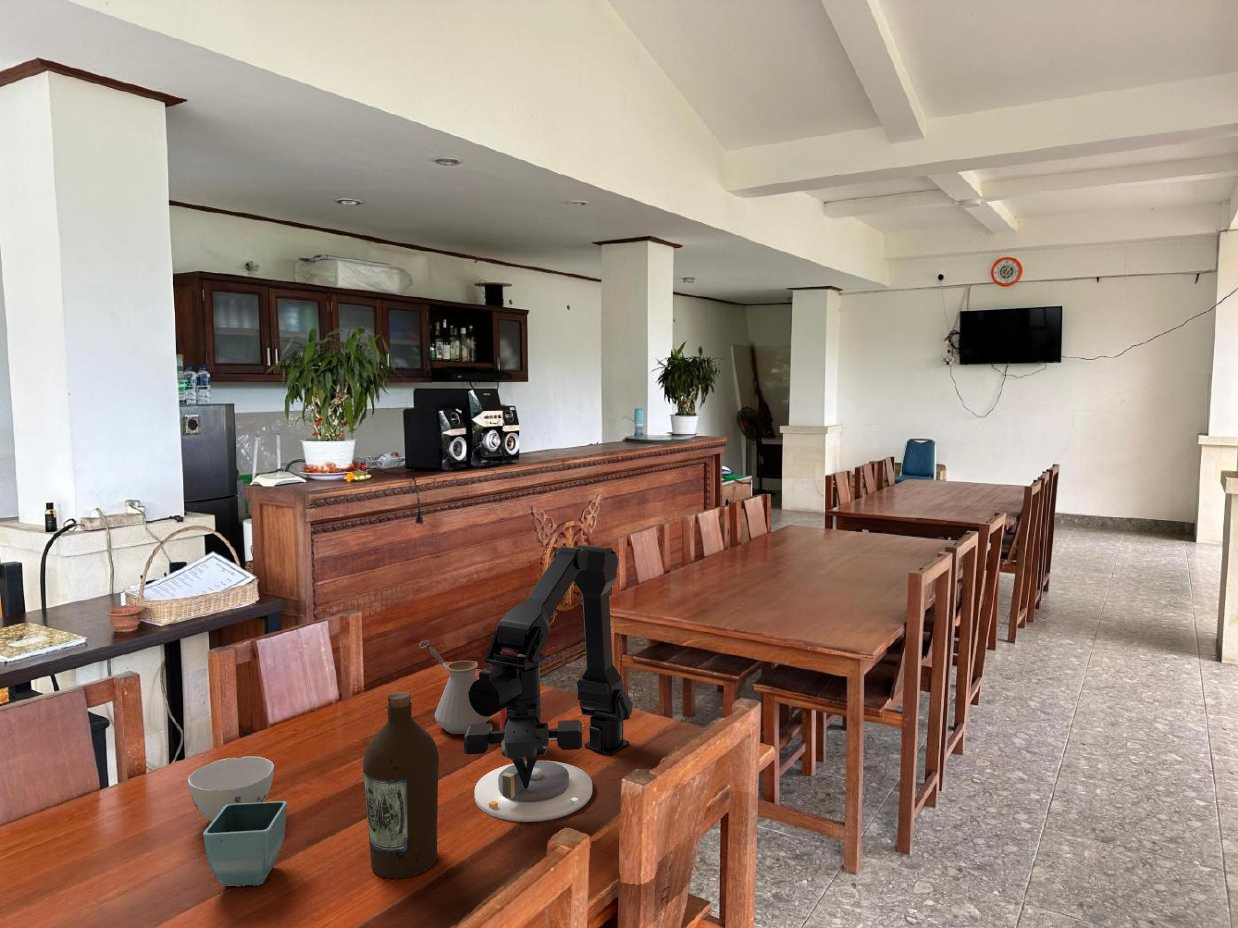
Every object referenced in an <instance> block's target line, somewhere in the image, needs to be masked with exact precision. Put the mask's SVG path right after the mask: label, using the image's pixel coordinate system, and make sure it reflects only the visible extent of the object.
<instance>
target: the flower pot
mask: <svg viewBox="0 0 1238 928" xmlns="http://www.w3.org/2000/svg"><path fill="white" fill-rule="evenodd" d="M287 808H288V802H287V801H286V800H277V801H264V802H256V803H235V804H227V805H225V806H224V807H223V809H222V810H221V811H220V813H219V814H218V815H217V816H216V818H215V819H214V820H213V821H212V822H211V823H209V825H208V826H207V827H206V828H205V830H204V831H203V833H202V836H203V842H204V847H205V850H206V856H207V860H208V861H207V862H208V864H209V868H210V870H211V873H212V874H213V875H214V877H215V878H216V880H217V881H219V883H220V884H221V885H223V886H224V887H225V886H236V887H239V886H238V885H243V886H242V887H246V886H245V885H250V886H251V885H253V886H261V885H262V884H263V883H264V882H266V881H265V880H267V877H268V876H269V874H270V872H271V871H272V869H273V867H274V865H275V863H276V861H277V860H278V857H279V854H280V851H281V849H282V846H283V843H284V838H285V834H286V833H285V832H286V824H287V823H286V822H287V821H286V820H287ZM260 884H261V885H260ZM251 887H252V886H251Z"/></svg>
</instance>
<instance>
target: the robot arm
mask: <svg viewBox="0 0 1238 928" xmlns="http://www.w3.org/2000/svg"><path fill="white" fill-rule="evenodd" d="M553 555H554V556H553V559H552V561H551V563H549V565H548V567H547V568H546V570H545V571H544V573H543V574H542V575H541V578H540V579H539V580H538V582H537V583H536V584H535V586H534V588H533V589H532V590H531V592H530V593H529V595H528V597H527V598H526V599H525V600H524V601H523V602H521V603H519V604H518V605H516V606H514V607H512V608H511V609H509V610H508V611H507V613H505V615H504V616H503V617H502V618H501V619H500V621H499V622H498V623H497V626H496V628H495V630H494V634H493V637H492V638H491V641H490V645H489V648H488V651H487V654H486V656H485V658H484V663H485V664H487V665H492V666H490V667H488V668H483V669H482V670H479V671H478V678H477V680H476V681H475V682H474V683H473V684H472V685H471V687H470V691H469V692H468V696H469V701H470V704H471V706H472V708H473V709H474V710H475V711H476V712H477V713H478V714H479V715H481V716H484V717H489V716H490V717H492V716H494V715H496V714H497V713H500V711H501V710H502V709H504V708H505V715H506V719H505V722H504V731H500V730H493V724H492V723H485V724H471V725H470V726H469V728H468V729H467V732H466V734H464V738H463V753H464V754H466V755H482V754H484V755H485V753H486V752H487V751H488V750H489V748H490V745H492V744H493V745H494V744H501V743H502V746H503V748H502V749H501V756H502V757H503V758H507V759H510V761H512V764H514V765H515V767H516V769H517V771H518V773H519V776H520V778H521V781H522V783H523V786H524V788H525V789H526V788H528V786H529V782H530V779H531V775H532V771H533V768H534V765H535V763H536V761H538V759H539V757H540V756H545V755H546V754H547V748H548V747H549V743H550V742H556V741H557V742H556V744H557V746H558V748H559V749H560V750H562V751H573V750H575V751H576V750H581V749H583V746H584V748H587V749H590V750H593V751H596V752H598V753H602V754H604V755H607V756H609V755H610V756H611V755H612V754H614V753H616V752H618V751H620V750H622V749H623V748H625V747H627V746H630V745H631V744H630V743H631V741H630V740H626V739H624V721H627V720H630V719H631V715H632V714H633V713H632V712H633V705H634V704H633V701H632V700H631V699H630V698H629V696H628V695H627V693H626V692H625V690H624V684H623V683H624V682H623V679H622V676H621V674H620V673H619V672H618V670H617V668H616V667H615V665H614V662H613V645H612V642H613V641H612V628H611V627H612V626H611V623H612V622H611V605H610V591H611V588H612V586H613V585H614V583H615V581H616V580H617V577H618V576H617V574H618V567H619V558H618V555H617V553H616V551H614V550H613V548H612V547H609V546H596V545H586V544H581V545H580V544H579V545H578V546H576V547H573V546H561V547H558V548H557V549H555V552H554V554H553ZM573 583H574V584H575V586H576V587H577V589H578V591H580V593H581V595H582V608H583V622H584V623H583V625H584V626H583V627H584V641H585V658H586V669H585V670H584V672H583V674H582V676H581V678H579V679H578V680H577V683H576V687H577V698H576V699H577V701H578V703H579V708H580V712H581V715H582V716H590V717H589V727H588V728H589V729H588V732H589V735H588V736H589V741H587V742H585V743H584V744H583V724H582V722H581V721H580V719H569V720H568V719H566V720H558V721H557V727H554V728H552V727H551V728H550V726H549V722H542V703H541V674H540V673H541V672H540V663H541V662H543V661H545V660H546V657H547V656H546V655H545V654H544V653H543V652H542V650H543V649H544V647H545V645H546V644H547V640H548V638H549V636H550V634H551V627H550V620H551V619H552V616H553V615H554V613H555V611H556V609H557V608H558V606H559V605H560V604H561V602H562V600H563V598H564V597H565V596H566V594H567V592H568V591H569V589H570V587H572V585H573ZM502 651H503V652H505V653H501V652H502ZM506 653H512V654H518V655H512V654H506ZM525 761H527V764H526V762H525Z"/></svg>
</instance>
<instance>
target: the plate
mask: <svg viewBox="0 0 1238 928" xmlns="http://www.w3.org/2000/svg"><path fill="white" fill-rule="evenodd" d="M547 761H548V762H553V763H557V764H559V765H561V766H563V767H564V768H566V769H567V771H568V773H569V786H568V788H567V790H566V791H565V792H563V793H562V794H560V795H559V796H556V797H554V798H551V799H548V800H543V801H535V802H524V801H517V800H513V799H510V798H507V797H503V795H502V794H501V793H500V791H499V789H498V777H499V774H500V773H501V772H502V771H503V770H504V769H506V768H507V767H509V766H512V765H514V763H510V764H505V765H503V766H500V767H498V768H495V769H493V770H491V771H490V772H487V773H486V774H485V775H483V776H482V777H480V779H478V781H477V783H476V785H475V787H474V801H475V804H476V805H477V807H478V808H479V809H480V810H481V811H482V812H484V813H485V814H487V815H489V816H492V817H494V818H497V819H501V820H505V821H509V822H510V821H511V822H521V823H530V822H531V823H532V822H534V823H535V822H544V821H549V820H550V821H551V820H555V819H559V818H562V817H566V816H568V815H570V814H573V813H574V812H576V811H578V810H580V809H582V808H583V807H584V806H585V805H586V804H587V803H588V802H589V801H590V799H591V797H592V795H593V781H592V778H591V777H590V775H589V774H588V773H587V772H586V771H584V770H583V769H582V768H581V769H580V768H579V767H577V766H574V765H572V764H569V763H565V762H560V761H553V760H547ZM525 762H527V760H525Z"/></svg>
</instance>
